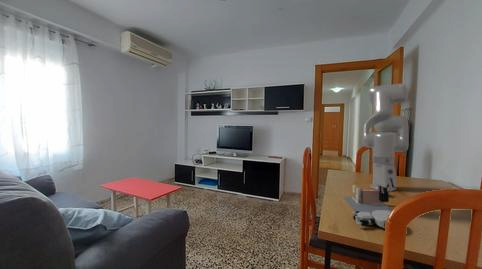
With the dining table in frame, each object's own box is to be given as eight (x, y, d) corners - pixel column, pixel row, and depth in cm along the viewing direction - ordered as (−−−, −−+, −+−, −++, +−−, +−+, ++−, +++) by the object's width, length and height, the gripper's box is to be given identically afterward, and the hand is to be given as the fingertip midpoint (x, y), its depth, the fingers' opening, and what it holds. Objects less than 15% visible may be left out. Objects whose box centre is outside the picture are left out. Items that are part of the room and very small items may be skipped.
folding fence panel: (363, 203, 97) (362, 190, 97) (361, 202, 99) (361, 189, 98) (383, 203, 96) (383, 190, 96) (382, 202, 97) (382, 190, 97)
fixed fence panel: (352, 198, 106) (352, 184, 106) (355, 198, 106) (355, 184, 106) (358, 204, 98) (358, 189, 97) (362, 204, 97) (362, 189, 97)
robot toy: (357, 232, 74) (406, 235, 70) (356, 220, 74) (405, 222, 70) (350, 218, 86) (392, 219, 81) (349, 207, 86) (391, 208, 81)
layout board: (343, 197, 108) (343, 196, 107) (377, 198, 104) (377, 198, 104) (356, 212, 89) (356, 211, 89) (398, 214, 86) (398, 213, 86)
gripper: (404, 163, 84) (404, 208, 84) (382, 158, 99) (383, 196, 99) (384, 163, 85) (384, 207, 85) (366, 158, 100) (366, 195, 100)
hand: (383, 201), depth 92 cm, fingers closed
